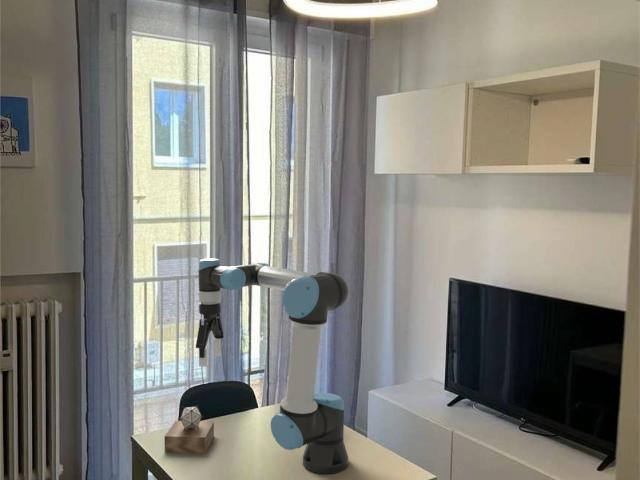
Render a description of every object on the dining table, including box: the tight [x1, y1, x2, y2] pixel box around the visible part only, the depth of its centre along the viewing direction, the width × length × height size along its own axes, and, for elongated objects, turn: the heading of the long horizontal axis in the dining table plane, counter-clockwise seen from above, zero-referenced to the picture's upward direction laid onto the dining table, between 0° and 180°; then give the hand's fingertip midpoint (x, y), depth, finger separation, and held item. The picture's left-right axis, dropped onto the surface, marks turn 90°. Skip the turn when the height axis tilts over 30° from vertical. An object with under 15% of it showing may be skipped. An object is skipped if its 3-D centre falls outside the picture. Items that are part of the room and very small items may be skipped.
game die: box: [177, 404, 204, 430], centre depth 215 cm, size 9×8×10 cm
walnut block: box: [164, 420, 215, 454], centre depth 216 cm, size 14×14×6 cm
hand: (210, 361), depth 219 cm, fingers open, 13 cm apart
